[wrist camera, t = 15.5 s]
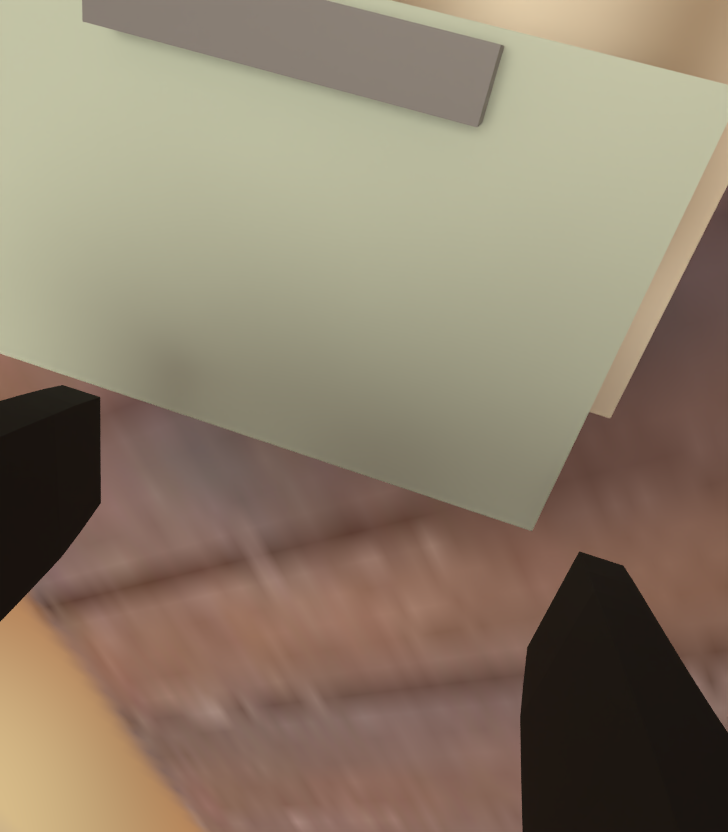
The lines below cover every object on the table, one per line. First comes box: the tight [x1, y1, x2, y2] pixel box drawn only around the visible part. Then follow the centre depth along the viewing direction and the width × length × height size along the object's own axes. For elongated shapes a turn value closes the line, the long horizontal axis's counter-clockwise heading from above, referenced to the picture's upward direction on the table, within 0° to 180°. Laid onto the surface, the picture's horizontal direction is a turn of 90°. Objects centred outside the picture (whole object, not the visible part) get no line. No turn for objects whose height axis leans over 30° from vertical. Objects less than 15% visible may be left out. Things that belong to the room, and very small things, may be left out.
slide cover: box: [0, 0, 728, 531], centre depth 13 cm, size 12×8×6 cm, turn 77°
